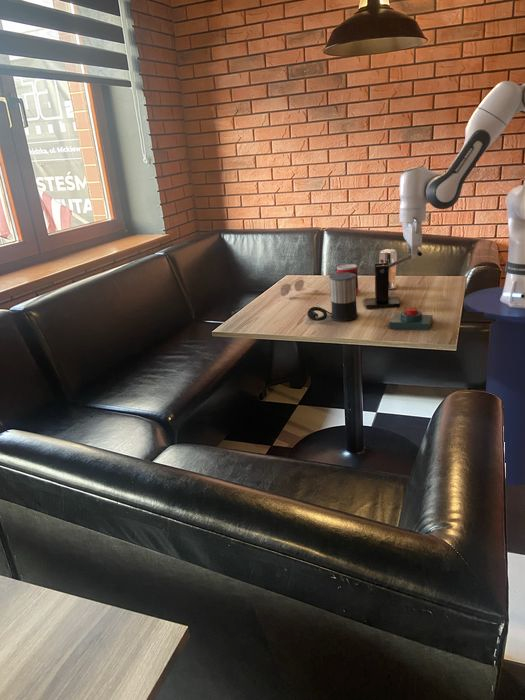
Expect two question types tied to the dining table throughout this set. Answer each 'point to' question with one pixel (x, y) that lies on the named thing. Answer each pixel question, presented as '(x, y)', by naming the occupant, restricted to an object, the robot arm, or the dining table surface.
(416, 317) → the button box
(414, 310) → the button
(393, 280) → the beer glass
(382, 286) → the bracket
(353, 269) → the canned food
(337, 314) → the milk frother
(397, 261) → the lever
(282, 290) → the sunglasses
